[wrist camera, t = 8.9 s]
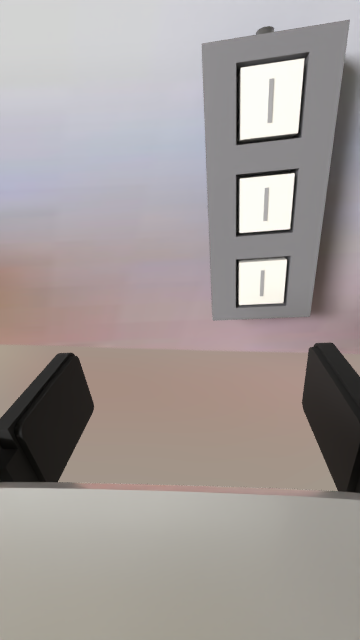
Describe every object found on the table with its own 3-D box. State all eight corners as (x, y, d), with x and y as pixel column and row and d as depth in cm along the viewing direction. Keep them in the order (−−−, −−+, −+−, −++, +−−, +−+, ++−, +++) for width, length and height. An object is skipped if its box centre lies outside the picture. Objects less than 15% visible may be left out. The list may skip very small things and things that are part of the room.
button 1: (236, 256, 26) (239, 262, 23) (279, 253, 25) (287, 259, 23) (236, 295, 27) (239, 305, 25) (276, 293, 27) (283, 303, 24)
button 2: (237, 81, 20) (241, 67, 18) (293, 73, 19) (304, 57, 17) (236, 144, 22) (240, 139, 19) (288, 139, 21) (298, 132, 19)
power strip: (201, 48, 20) (200, 17, 17) (326, 28, 19) (353, -9, 16) (211, 304, 30) (212, 320, 26) (296, 300, 28) (309, 316, 25)
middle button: (236, 179, 23) (240, 178, 20) (285, 174, 22) (294, 173, 20) (236, 229, 24) (239, 233, 22) (282, 225, 24) (290, 229, 22)
